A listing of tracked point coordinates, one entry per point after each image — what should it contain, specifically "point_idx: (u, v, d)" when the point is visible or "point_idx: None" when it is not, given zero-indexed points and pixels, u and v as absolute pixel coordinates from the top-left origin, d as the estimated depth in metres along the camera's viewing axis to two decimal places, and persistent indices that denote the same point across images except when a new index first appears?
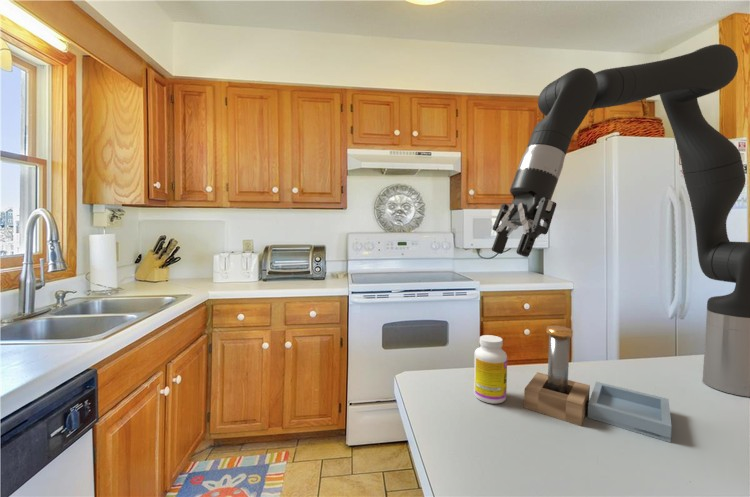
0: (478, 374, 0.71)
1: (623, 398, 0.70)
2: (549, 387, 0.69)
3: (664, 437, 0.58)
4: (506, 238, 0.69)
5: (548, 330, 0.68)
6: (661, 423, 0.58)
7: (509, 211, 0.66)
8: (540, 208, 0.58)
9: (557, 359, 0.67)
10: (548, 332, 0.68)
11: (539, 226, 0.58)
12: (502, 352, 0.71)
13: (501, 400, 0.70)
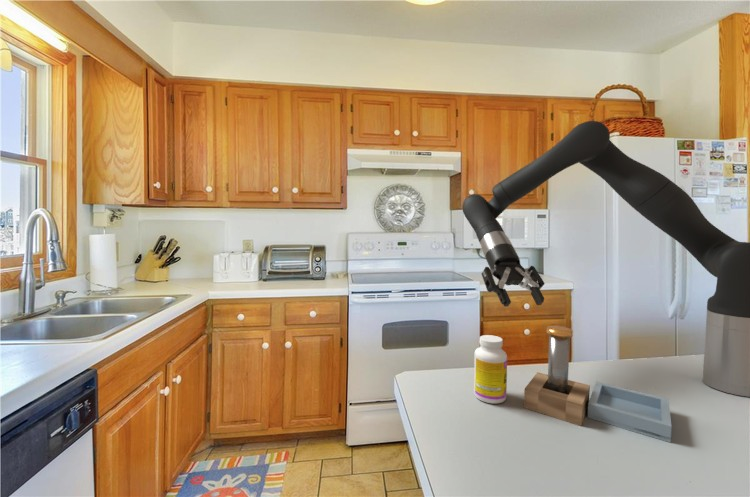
0: (478, 374, 0.71)
1: (623, 398, 0.70)
2: (549, 387, 0.69)
3: (664, 437, 0.58)
4: (534, 289, 0.82)
5: (548, 330, 0.68)
6: (661, 423, 0.58)
7: None
8: None
9: (557, 359, 0.67)
10: (548, 332, 0.68)
11: (488, 287, 0.82)
12: (502, 352, 0.71)
13: (501, 400, 0.70)
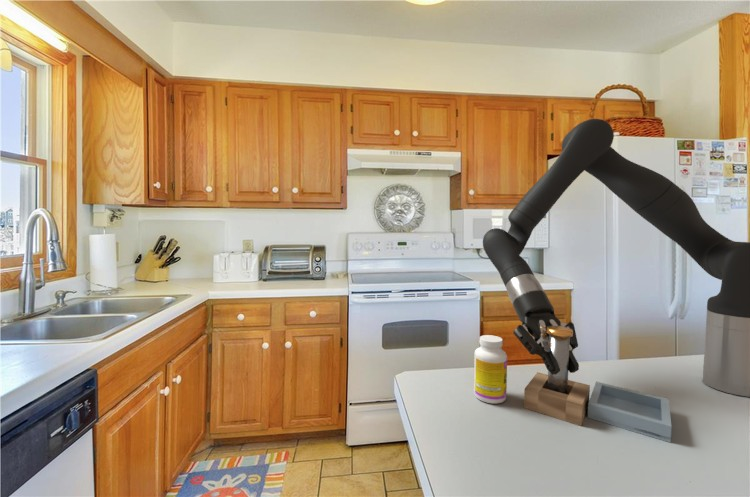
0: (478, 374, 0.71)
1: (623, 398, 0.70)
2: (549, 387, 0.69)
3: (664, 437, 0.58)
4: None
5: (548, 330, 0.68)
6: (661, 423, 0.58)
7: None
8: None
9: (558, 359, 0.67)
10: (548, 332, 0.68)
11: (530, 349, 0.70)
12: (502, 352, 0.71)
13: (501, 400, 0.70)
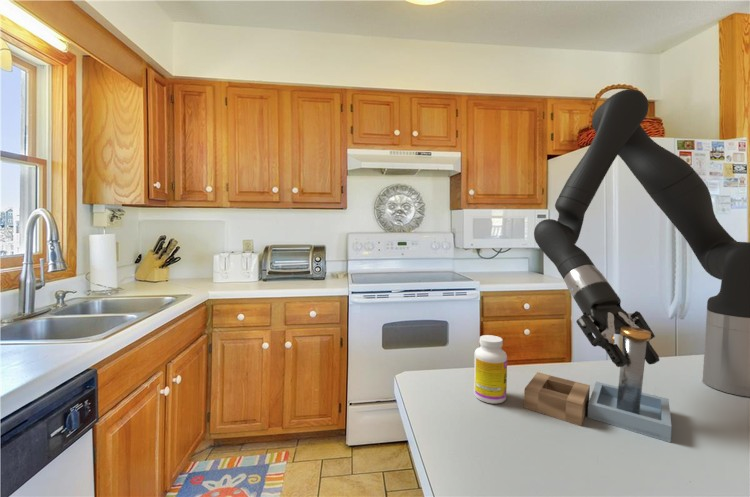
0: (478, 374, 0.71)
1: None
2: (621, 390, 0.65)
3: (664, 437, 0.58)
4: None
5: (623, 331, 0.64)
6: (661, 423, 0.58)
7: None
8: None
9: (633, 362, 0.63)
10: (623, 333, 0.64)
11: (592, 341, 0.66)
12: (502, 352, 0.71)
13: (501, 400, 0.70)
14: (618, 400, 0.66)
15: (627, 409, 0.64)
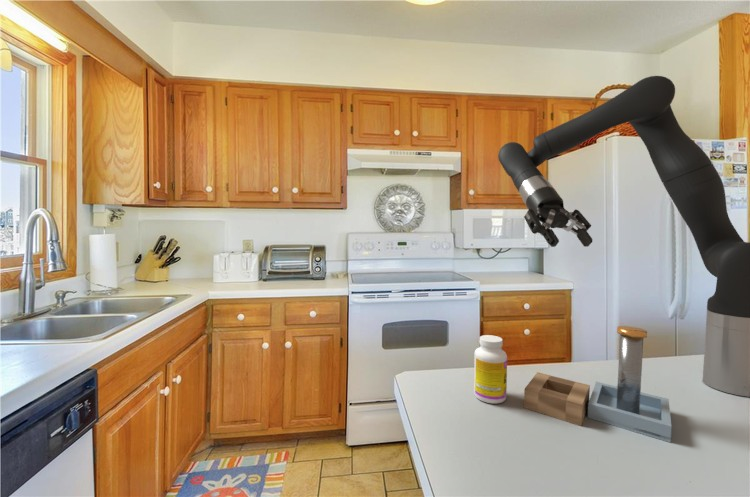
0: (478, 374, 0.71)
1: None
2: (620, 390, 0.65)
3: (664, 437, 0.58)
4: (581, 231, 0.78)
5: (620, 330, 0.65)
6: (661, 423, 0.58)
7: None
8: None
9: (631, 360, 0.64)
10: (620, 332, 0.65)
11: (532, 229, 0.78)
12: (502, 352, 0.71)
13: (501, 400, 0.70)
14: (618, 400, 0.66)
15: (627, 409, 0.64)
